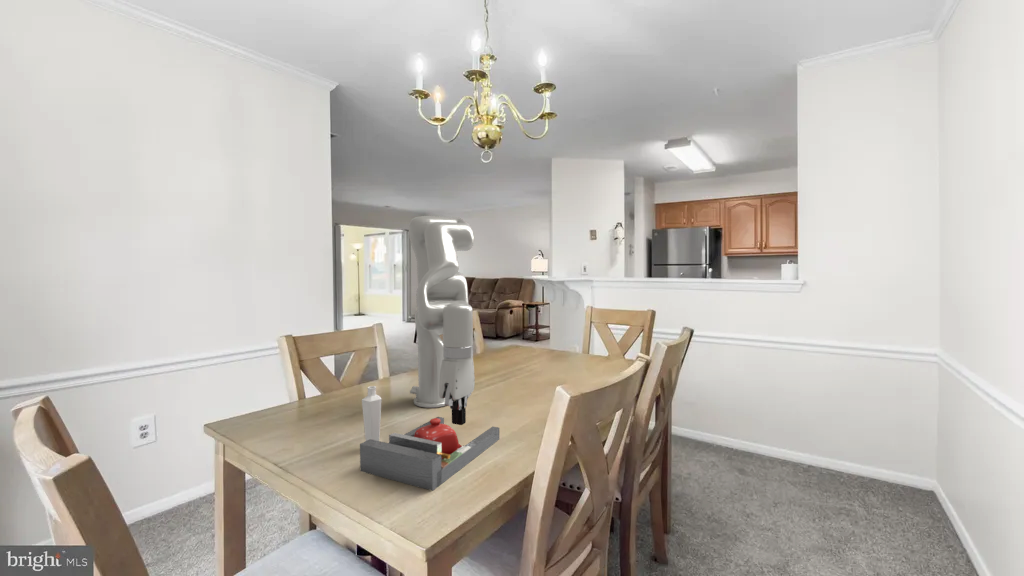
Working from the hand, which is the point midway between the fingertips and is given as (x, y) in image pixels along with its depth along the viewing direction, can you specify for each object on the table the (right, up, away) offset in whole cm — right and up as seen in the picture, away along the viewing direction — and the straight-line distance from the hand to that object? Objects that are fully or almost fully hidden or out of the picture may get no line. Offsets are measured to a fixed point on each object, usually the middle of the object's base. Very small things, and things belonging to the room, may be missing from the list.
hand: (458, 423), depth 112 cm
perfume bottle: (-20, -5, -5) cm, 22 cm away
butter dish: (-4, -5, -8) cm, 11 cm away
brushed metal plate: (-7, -4, -16) cm, 18 cm away
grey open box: (-4, -4, -9) cm, 11 cm away
